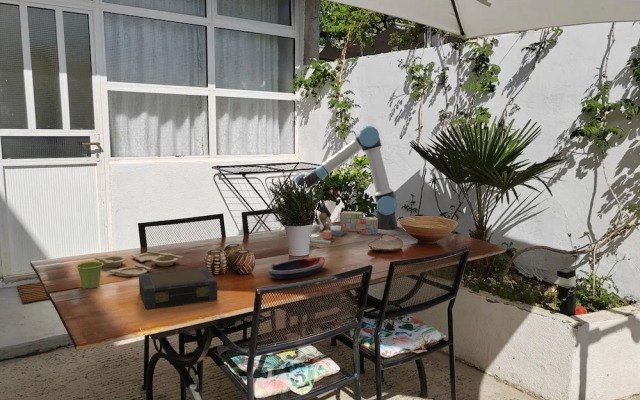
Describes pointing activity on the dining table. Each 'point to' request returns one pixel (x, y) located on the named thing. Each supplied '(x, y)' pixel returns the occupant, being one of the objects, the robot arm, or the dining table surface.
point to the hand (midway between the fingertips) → (327, 227)
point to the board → (334, 233)
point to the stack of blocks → (359, 223)
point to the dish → (296, 268)
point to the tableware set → (138, 268)
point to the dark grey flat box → (177, 288)
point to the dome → (336, 228)
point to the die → (327, 234)
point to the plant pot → (90, 274)
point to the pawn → (322, 221)
